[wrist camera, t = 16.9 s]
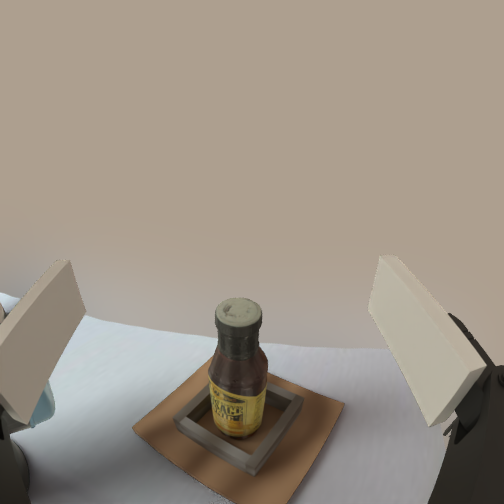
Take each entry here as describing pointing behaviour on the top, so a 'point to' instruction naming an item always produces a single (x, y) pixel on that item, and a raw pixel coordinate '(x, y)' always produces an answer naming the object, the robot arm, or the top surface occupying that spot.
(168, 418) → the socket block
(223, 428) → the sauce bottle
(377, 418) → the top surface
